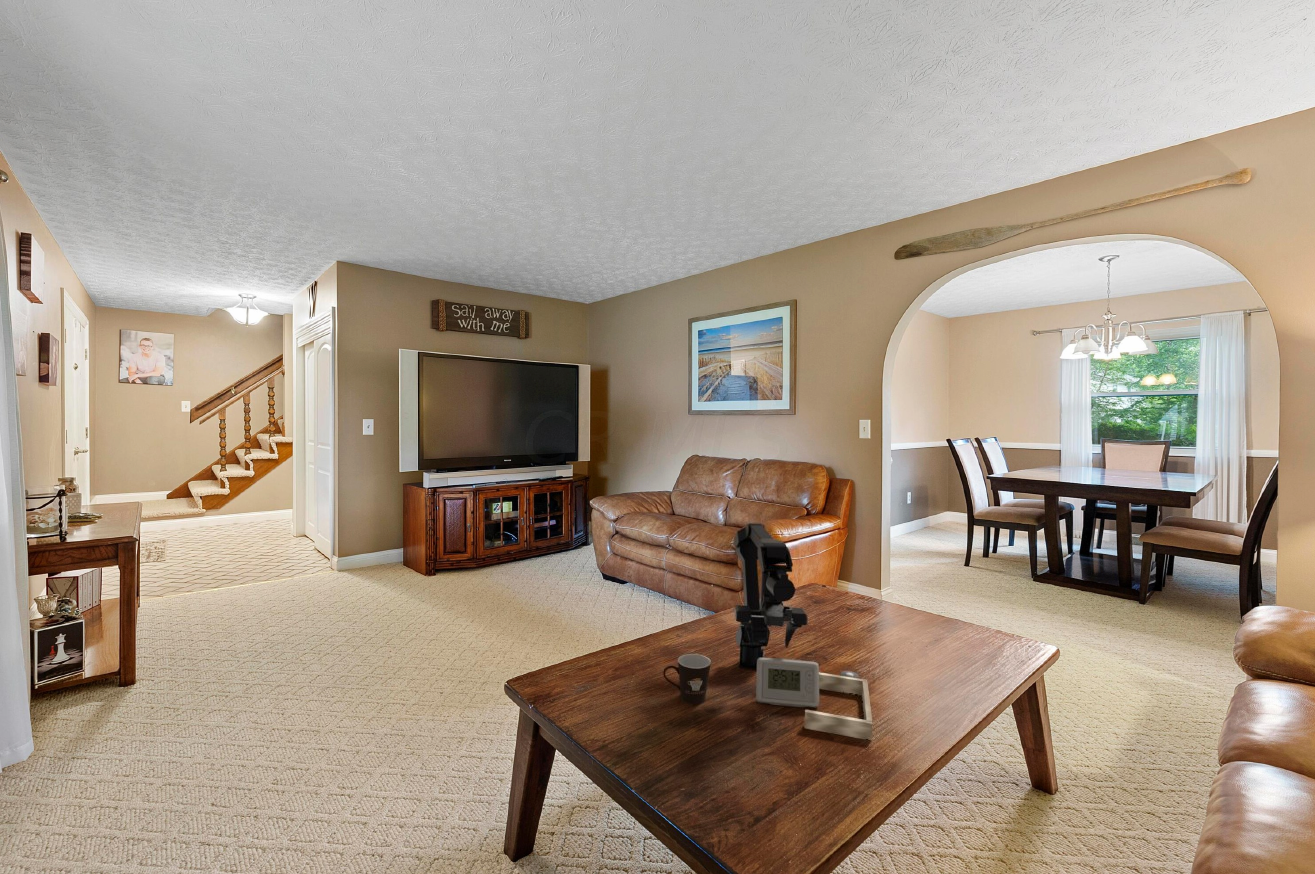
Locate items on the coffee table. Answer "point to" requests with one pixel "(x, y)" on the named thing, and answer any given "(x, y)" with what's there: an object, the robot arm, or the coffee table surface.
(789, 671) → the digital clock
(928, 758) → the coffee table surface
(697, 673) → the coffee mug
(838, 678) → the bay
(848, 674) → the wheel
